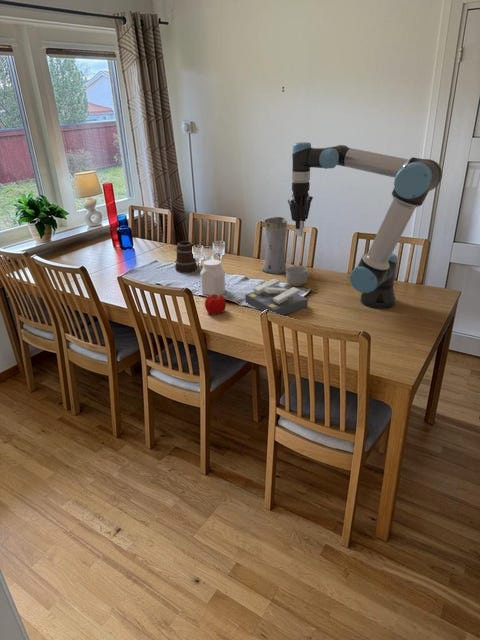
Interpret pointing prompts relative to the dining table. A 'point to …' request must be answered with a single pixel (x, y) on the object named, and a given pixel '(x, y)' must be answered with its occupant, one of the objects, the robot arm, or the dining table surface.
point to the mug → (185, 257)
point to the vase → (275, 245)
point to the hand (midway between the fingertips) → (299, 235)
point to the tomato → (215, 304)
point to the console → (266, 302)
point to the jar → (212, 278)
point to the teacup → (296, 275)
